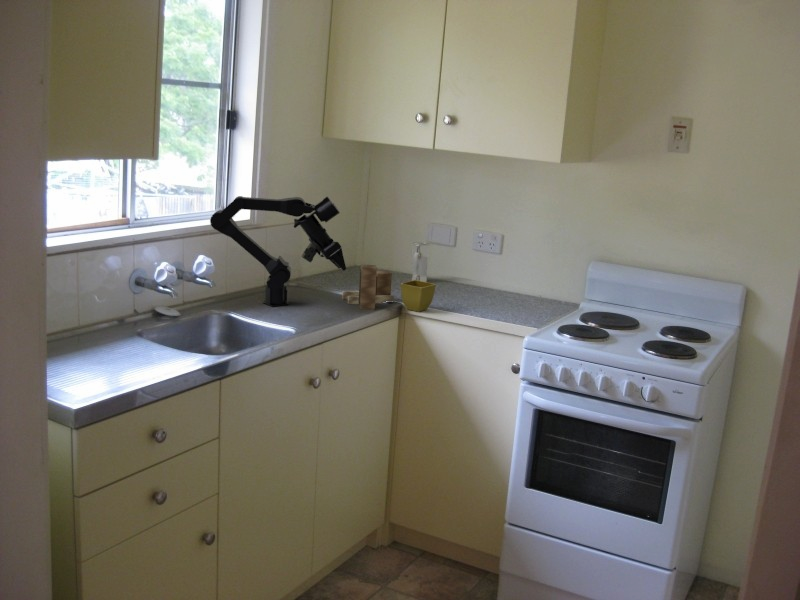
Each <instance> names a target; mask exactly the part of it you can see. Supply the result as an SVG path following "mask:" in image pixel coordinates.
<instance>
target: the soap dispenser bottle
mask: <svg viewBox="0 0 800 600" xmlns="http://www.w3.org/2000/svg"><path fill="white" fill-rule="evenodd" d="M411 248H412V249H411V265H412V277H411V280H410V281H412V280H418V281H423V282H428V279H427V271H428V267H429V263H430V258H431V257H430V255H431V244H430V243H428V242H426V241H425V242H422V241H416V242H413V243H412V247H411Z"/></svg>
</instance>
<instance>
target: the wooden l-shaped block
mask: <svg viewBox="0 0 800 600" xmlns="http://www.w3.org/2000/svg"><path fill="white" fill-rule="evenodd" d="M392 276H393V274H392V272H391V271H389V270H377V273H376V296H375V304H384V303H383V302H386V301H394V299H395V297H394V296H395V295H393V294H391V293H392ZM341 293H342V294H341V298H342V300H347V305H360V304H359V290H343V291H342V292H341Z"/></svg>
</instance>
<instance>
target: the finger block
mask: <svg viewBox="0 0 800 600" xmlns="http://www.w3.org/2000/svg"><path fill="white" fill-rule="evenodd" d="M377 271H378V270H377V264H360V269H359V284H358V291H359V304H358V305H359V309H360V310H376V303H375V296H376V273H377Z"/></svg>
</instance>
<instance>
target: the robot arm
mask: <svg viewBox="0 0 800 600" xmlns="http://www.w3.org/2000/svg"><path fill="white" fill-rule="evenodd" d="M241 210H250V211H252V210H253V211H261V212H262V211H264V212H276V213H280V214H285V215H287V216H292V217H296V218H294V220H293V222H294V224H293V228H294V229H296V228H298V226H300V227H301V229H302V230H303V231H304V233H305V234H306V236H307V237H308V241H309V244H308V245H307V247H305V249H304V250H303V253H302V255H301V258H302V259H304V260H305V261H307V262H308V263H312V262H313V260H314V257H315V256H316V255H318V256H319V257H321V258H325V259H326V260H329V261H330V262H331V264H333V265H334V266H336V267H337V268H338V269H341V270H342V271H346V270H347V266H346V262H345V258H344V255H343V253H344V252H343V248H342V245H341V244H340V243H339V242H338V241H334V239H333V238H331V237H330V235H329V234H328V232H327V230H326V228H325V227H323V225H322V224H321V223H322V222H325V223H328V222H329V221H330V220H332V219H334V218H335V217H337V216H338V215H339V214H340V210H339V208H338V207H337V205H335V203H334V202H333V201H332V200H331V199H330V198H329V196H325V197H324V198H323V199H322V200H320V201H319V202H318V203H316V204H312V203H310V202H309V203H308V202H306V201H305V200H304V199H303V198H302V197H300V196H294V197H292V196H291V197H287V198H278V199H276V198H262V197H249V196H247V197H246V196H242V195H241V196H240V195H239V196H236V197H235V198H234V199H233V200H232V201H231V202H230V203H229V204H228V205H227V206H225V207H224V208H223V209H218V210H216V211H215V212H214V213H213V214H212V215H211V217H210V220H209V223H210V226H211V227H212V228H213V229H214V230H216V231H217V232H219V233H220V234H223V235H225V236H227V237H228V238H231V239H232V240H233V241H234V242H236V243H237V244H238V245H239V246H240V247H241V248H242V249H243V250H245V251H246V252H247V253H249V255H251V257H253V258H254V259H256V260H257V261H258V262H259V263H260V264H261V265H262V266H263V267H264V268H265V269H266V272H268V274H269V276H268V277H267V280H266V285H265V286H264V287H265V288H264V289H265V290H264V291H265V293H264V296H265V298H264V300H263V301H262V304H264V303H265V305H268V306H269V305H270V307H278V306H288V305H289V302H288V289H287V285H285V284H286V283H288V282H289V281H290V279H291V275H292V269H291V267H290V262H288V261H286V260H285V259H283V257H282V256H281V255H278V257H274V256H273V255H271V254H270V253H269V252H268V251H267V250H266V249H264V248H263V247H262V246H261V245H260V244H258V242H256V241H255V240H254V239H252V238H251V237H250V236H249V235H248V234H247V233H246V232H245V231H244V230H242V229H241V228H240V227H239V226H238V224H237V222H236V221H235V220H234V216H236V214H237V213H239V212H240V211H241ZM307 214H308V215H307ZM297 217H299V218H297ZM320 222H321V223H320Z"/></svg>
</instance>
